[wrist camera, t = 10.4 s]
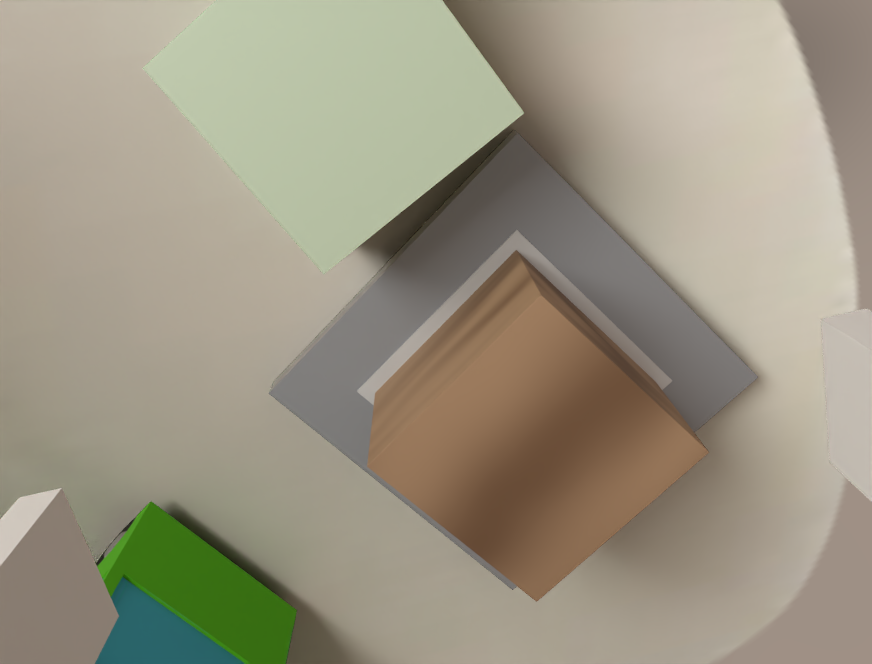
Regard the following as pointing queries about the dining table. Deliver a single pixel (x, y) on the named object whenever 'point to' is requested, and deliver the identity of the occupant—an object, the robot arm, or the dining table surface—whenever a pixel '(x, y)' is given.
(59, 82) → the dining table surface
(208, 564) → the toy car
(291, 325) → the dining table surface
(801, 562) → the dining table surface
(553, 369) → the walnut block
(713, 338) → the plate
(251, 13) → the green block
